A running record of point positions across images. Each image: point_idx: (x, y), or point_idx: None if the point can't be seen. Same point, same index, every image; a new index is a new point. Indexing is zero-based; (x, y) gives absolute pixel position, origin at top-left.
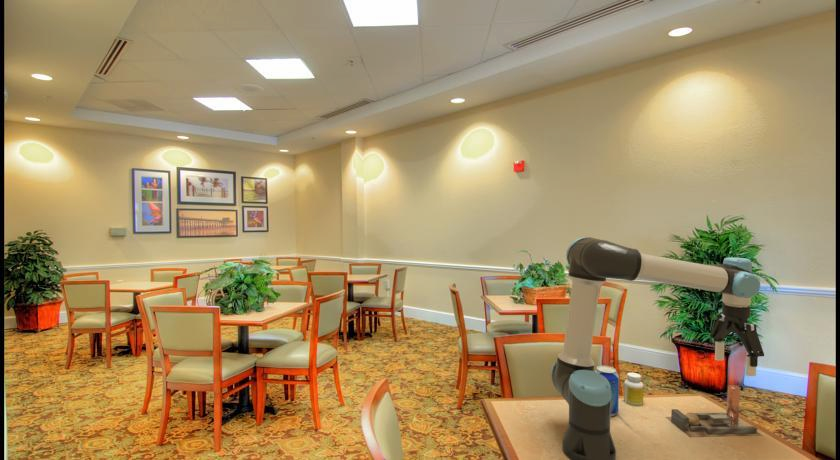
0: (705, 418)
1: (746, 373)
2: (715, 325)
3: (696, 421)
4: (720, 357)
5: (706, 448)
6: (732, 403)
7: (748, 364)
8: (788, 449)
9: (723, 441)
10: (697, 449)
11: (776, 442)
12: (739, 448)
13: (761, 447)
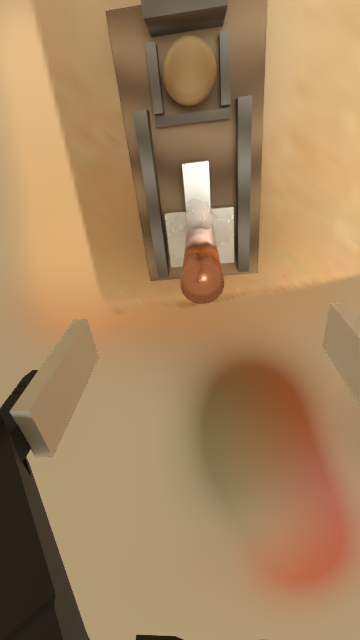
0: (236, 169)
1: (78, 326)
2: None
3: (163, 77)
4: (334, 338)
5: (68, 60)
6: (188, 249)
7: (43, 366)
8: (113, 301)
9: (125, 157)
10: (52, 13)
11: (141, 297)
12: (93, 182)
13: (110, 247)
